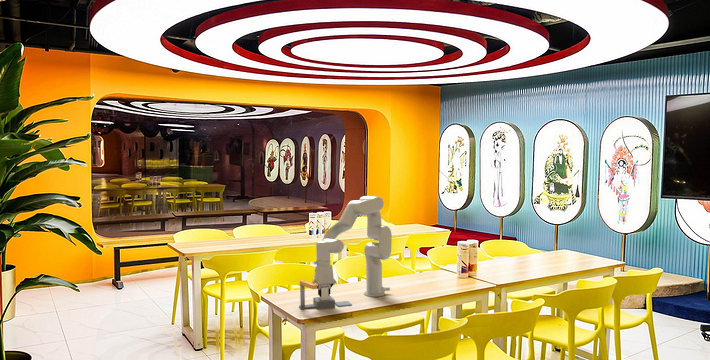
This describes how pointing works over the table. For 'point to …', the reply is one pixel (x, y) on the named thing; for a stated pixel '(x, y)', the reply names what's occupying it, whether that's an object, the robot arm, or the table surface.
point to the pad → (343, 303)
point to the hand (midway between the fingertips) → (324, 295)
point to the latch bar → (308, 284)
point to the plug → (324, 292)
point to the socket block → (315, 301)
